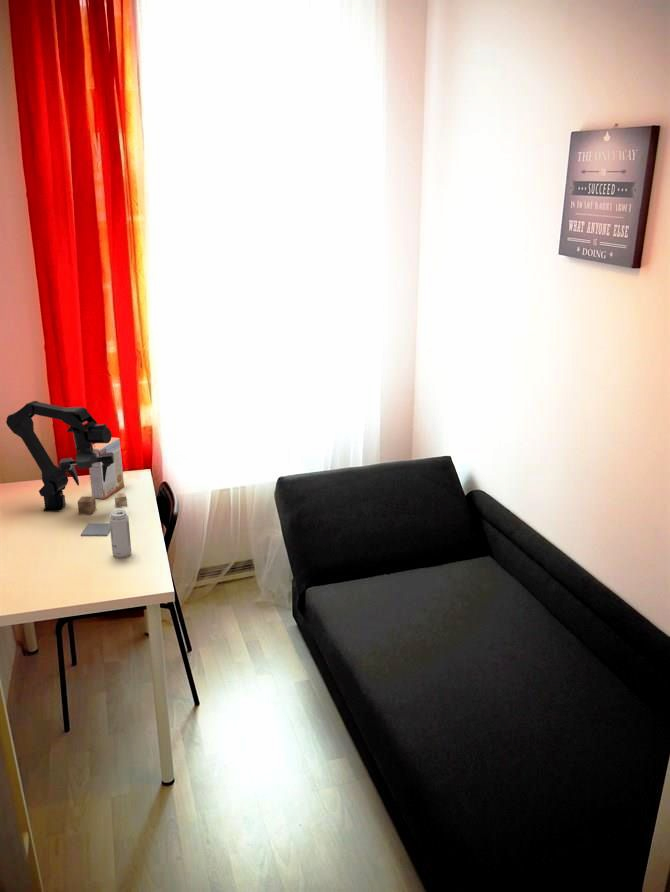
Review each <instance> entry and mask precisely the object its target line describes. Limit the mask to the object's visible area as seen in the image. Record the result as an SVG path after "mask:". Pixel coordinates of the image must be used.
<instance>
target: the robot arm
mask: <svg viewBox="0 0 670 892" xmlns="http://www.w3.org/2000/svg"><path fill="white" fill-rule="evenodd" d="M35 415H37V416H41V417H46V418H50V419H55V420H60V421H62V422H63V423H64V424H65V425H68V426H69V427H68V429H66V432H68V433H72V435H73V441H74V445H75V449H76V455H75V458H76V459H73V458H72V457H66V458H61V460H60V461H59V464H58V466H57V465H55V464H54V462H53V461H52V459H51V457H50V455H49V454H48V452H47V451H46V449H45V448H44V445H43V444H42V442H41V440H40V439H39V438H38V435H37V434H36V432H35V428H34V421H33V417H34V416H35ZM5 423H6V426H7V427H8V428H9V429H10V430H11V431H12V433H13V434H14V435H16V436H18V437H19V438H21V440H22V442H23V443H24V445H25V447H26V448H27V450H28V451H29V453H30V454H31V456H32V458H33V460H34V461H35V463H36V465H37V466H38V468H39V470H40V472H41V482H42V483H43V486H42V487H41V488H40V489H39V490H38V493H39V495H40V497H43V502H44V508H43V512H61V511H62V510H63V508H65V506H66V505H67V503H66V496H65V494H64V491H63V490H65V489H66V486H67V485H68V484H69V478H68V476H69V475H70V476H71V478H72V479H73V481H74V482H75V483H76V485H77V486H80V482H79V476H78V473H77V470H76V466H77V469H78V470H83V469H89V468H91V467H92V464H94V463H97V462H102V463H103V464H102V471H103V481H104V482H105V478H106V471H107V467H108V466H110V465H111V464H113V463H114V460H115V457H114V454H113V453H112V452H110V453H103V454H102V457H97V456H96V453H94V450H93V444H95V443H109V442H110V441H111V437H113V436H112V431H111V428H109V427H107V424H106V423H102V424H98V421H96V419H95V418H94V416H92V415H91V414H90V411H88V409H87V408H85V406H84V407H83V406H72V407H70V406H69V407H64V406H58V405H54V404H48V403H45V402H40V401H38V400H33V401H30V402H27V403H26V404H25V405H24V406H22V408H20V409H19V410H17V411H16V412H13V413H11V414H9V415H8V416H7V417H6V421H5ZM67 473H68V474H67Z"/></svg>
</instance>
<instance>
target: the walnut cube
mask: <svg viewBox="0 0 670 892" xmlns="http://www.w3.org/2000/svg"><path fill="white" fill-rule="evenodd" d="M95 509H96V510H97V503H96V498H95V497H92V496H80V498H79V499H78V500H77V510H78V515H93V514H94V513H93V512H95V511H96V510H95Z"/></svg>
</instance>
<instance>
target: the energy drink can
mask: <svg viewBox="0 0 670 892" xmlns="http://www.w3.org/2000/svg"><path fill="white" fill-rule="evenodd" d="M129 519H130V518H129V515H128V514H127V512H126V510H122V509H118V510H113V511H112V512H110V516H109V518H108V520H109V522H108V523H110V532H109V533H110V541H111V542H110V543H111V551H112V555H113V556H114V557H115V558H116V559H124V558H128V557H129V556H130V555H131V553H132V545H131V543H132V542H131V533H130V532H131V531H130V522H129Z"/></svg>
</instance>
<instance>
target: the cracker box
mask: <svg viewBox="0 0 670 892" xmlns="http://www.w3.org/2000/svg"><path fill="white" fill-rule="evenodd" d="M92 445H93V450H94V453H96V456H97V457H102V454H103V453H110V452H112V453H113V454H114V457H115V460H114V463H113V464H111V465H110V466H108V467H107V471H106V478H105V482H104V481H103V471H102V464H103V463H102V462H97V463H94V464H92V467H91V468H88V470H89V477H90V478H89V480H90V486H91V488H90V489H91V494H92V495H91V497H95V499H101V500H106V499H107V498H109V497H110V496H112V495H114V494H116V492H117V491H119V490H120V489H122V488H124V487H125V481H124V480H125V479H124V470H123V464H122V463H123V462H122V461H123V460H122V451H121V450H122V449H121V441H120V437H113V436H112V437H111V441H110V442H109V443H92Z"/></svg>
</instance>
